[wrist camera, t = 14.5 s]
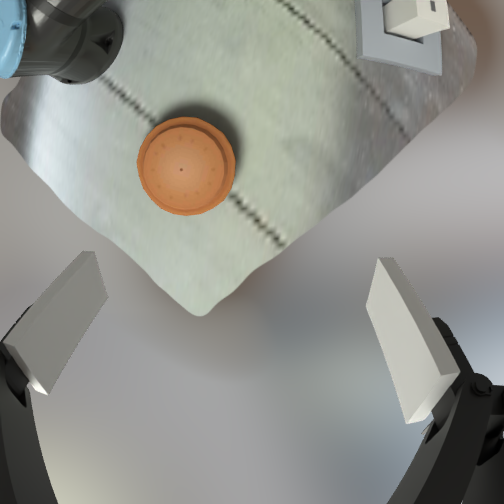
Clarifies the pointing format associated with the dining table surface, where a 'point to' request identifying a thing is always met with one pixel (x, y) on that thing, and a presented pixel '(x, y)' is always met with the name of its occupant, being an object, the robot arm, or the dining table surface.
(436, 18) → the brick
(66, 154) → the dining table surface
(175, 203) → the pie
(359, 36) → the gray socket base
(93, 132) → the dining table surface
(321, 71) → the dining table surface
